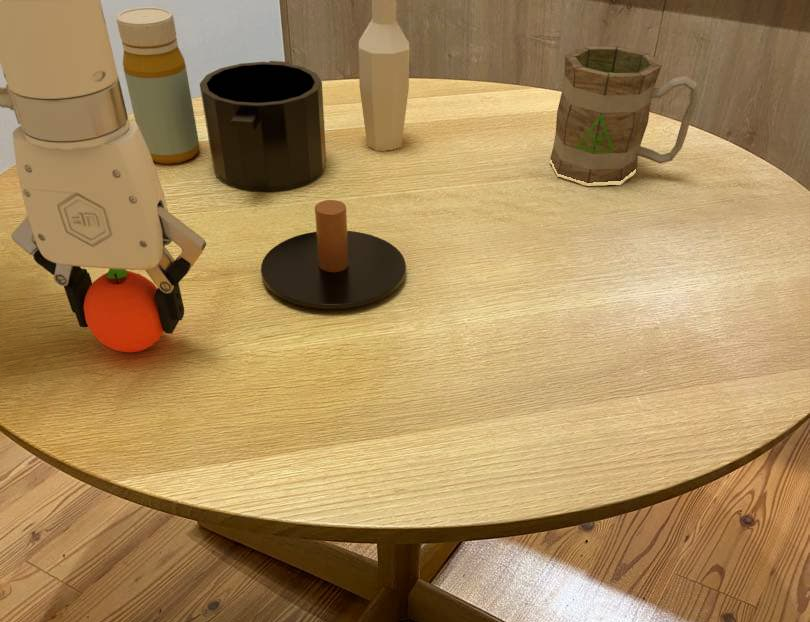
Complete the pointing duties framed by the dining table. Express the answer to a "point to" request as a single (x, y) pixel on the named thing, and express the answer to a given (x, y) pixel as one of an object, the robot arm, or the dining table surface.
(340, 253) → the lid
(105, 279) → the clementine
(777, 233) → the dining table surface
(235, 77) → the pot
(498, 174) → the dining table surface
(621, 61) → the mug
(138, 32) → the bottle
